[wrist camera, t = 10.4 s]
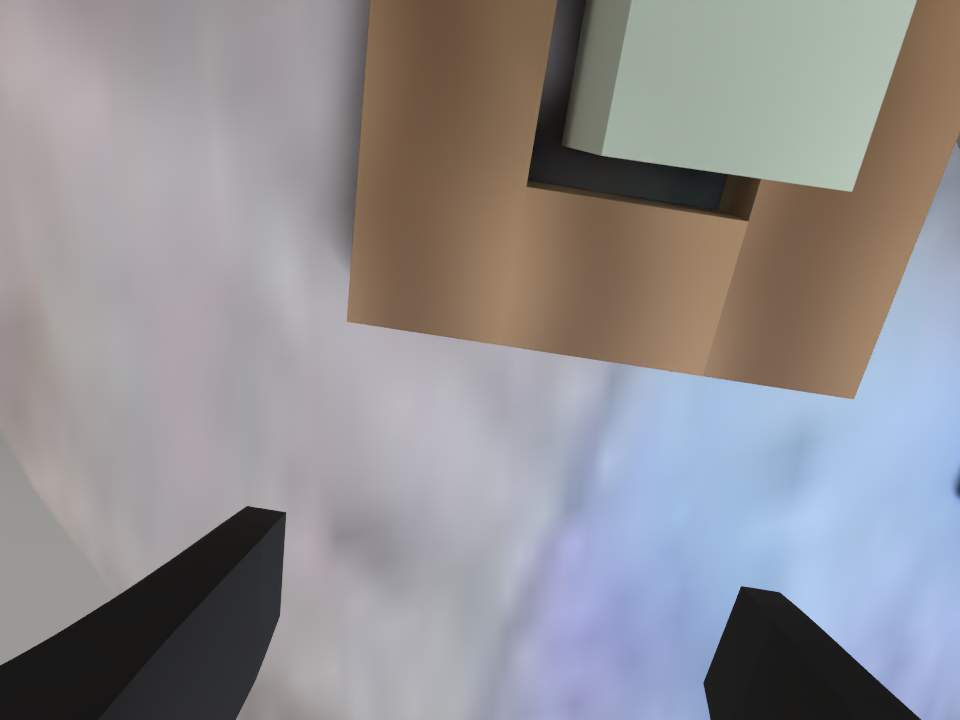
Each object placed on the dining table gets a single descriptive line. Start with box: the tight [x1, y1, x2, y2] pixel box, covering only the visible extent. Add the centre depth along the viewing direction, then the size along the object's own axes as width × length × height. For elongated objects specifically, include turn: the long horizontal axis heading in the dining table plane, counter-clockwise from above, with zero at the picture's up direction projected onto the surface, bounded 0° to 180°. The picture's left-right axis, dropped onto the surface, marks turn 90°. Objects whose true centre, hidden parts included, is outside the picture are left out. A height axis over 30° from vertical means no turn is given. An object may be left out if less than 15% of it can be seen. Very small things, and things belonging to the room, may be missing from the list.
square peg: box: [561, 0, 917, 192], centre depth 13 cm, size 4×4×8 cm
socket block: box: [347, 0, 960, 399], centre depth 15 cm, size 14×14×2 cm
